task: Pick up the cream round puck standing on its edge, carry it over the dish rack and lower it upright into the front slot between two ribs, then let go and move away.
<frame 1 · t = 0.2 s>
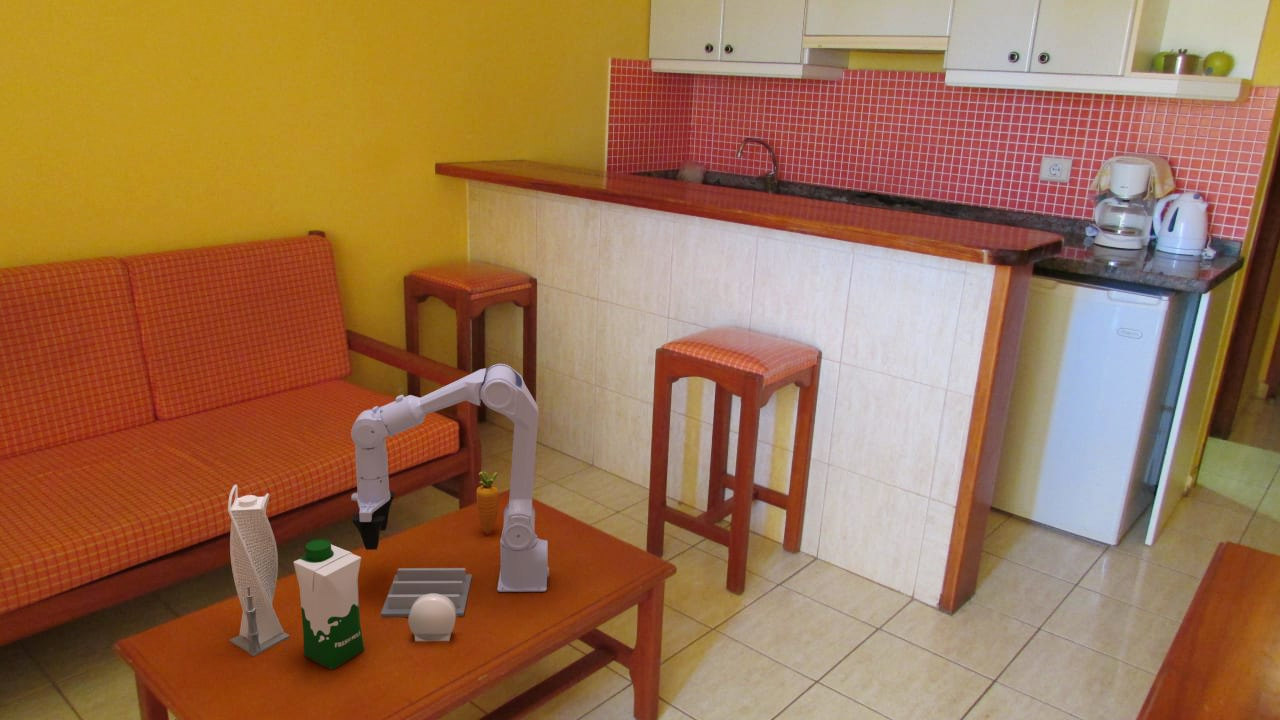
hand: (376, 539, 171), 10 cm above the table, tool pointing down, fingers open, 7 cm apart
skyscraper: (260, 637, 157), on the table
dish rack: (428, 595, 171), on the table
milk carton: (334, 654, 153), on the table
cream round puck: (433, 636, 159), on the table
carrot: (488, 535, 196), on the table
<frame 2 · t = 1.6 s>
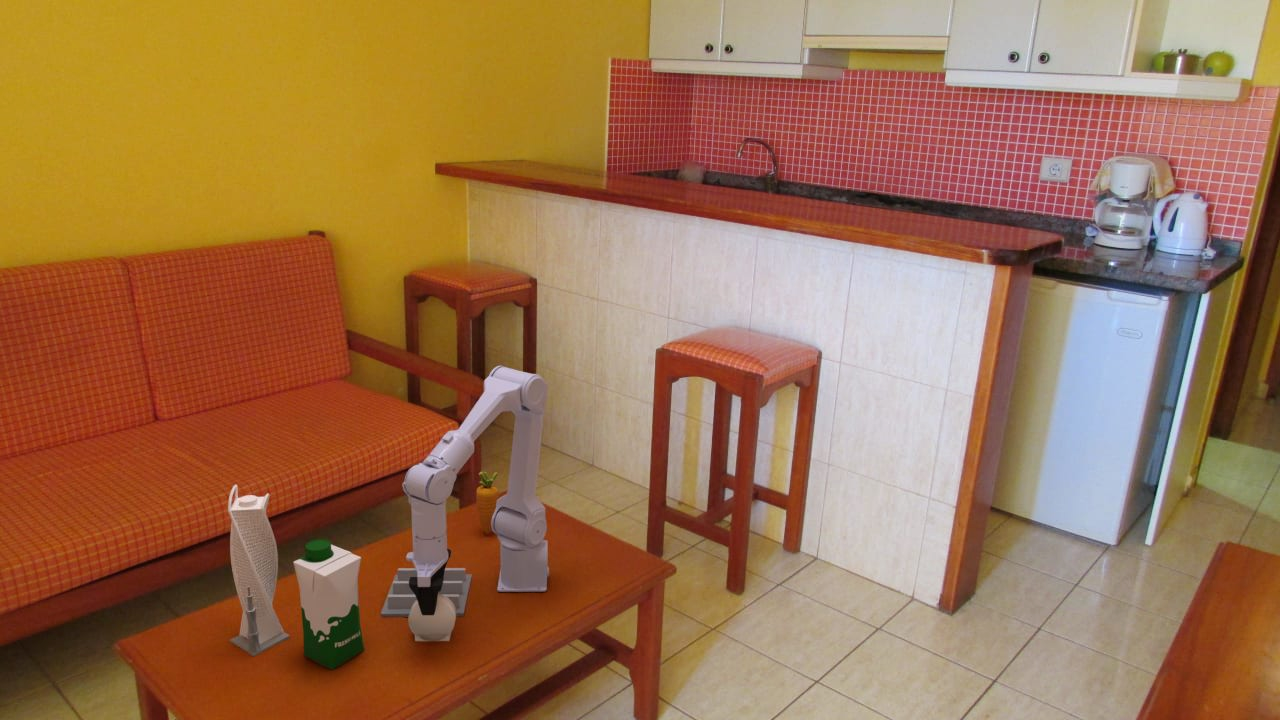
hand: (431, 602, 156), 7 cm above the table, tool pointing down, fingers open, 7 cm apart
nothing on the table moved.
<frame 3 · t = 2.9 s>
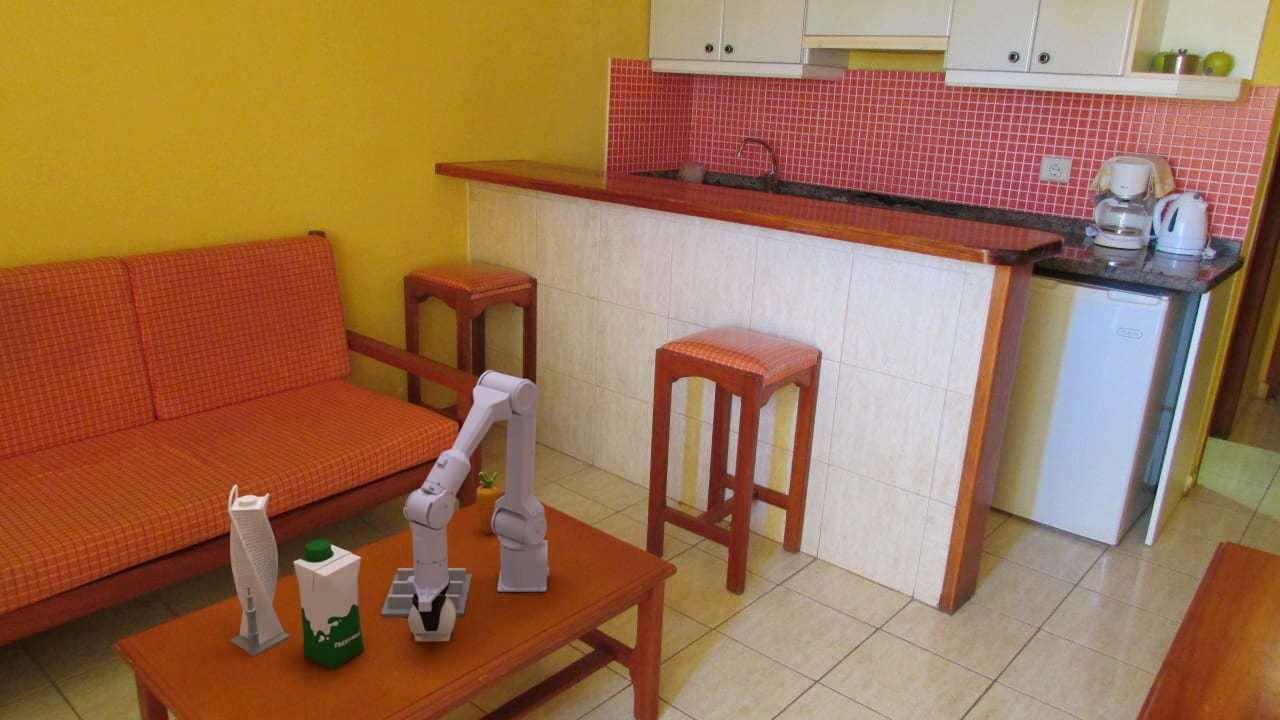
hand: (432, 625, 158), 2 cm above the table, tool pointing down, fingers closed on cream round puck, 2 cm apart
cream round puck: (433, 636, 159), on the table, touching gripper
everything else where it was.
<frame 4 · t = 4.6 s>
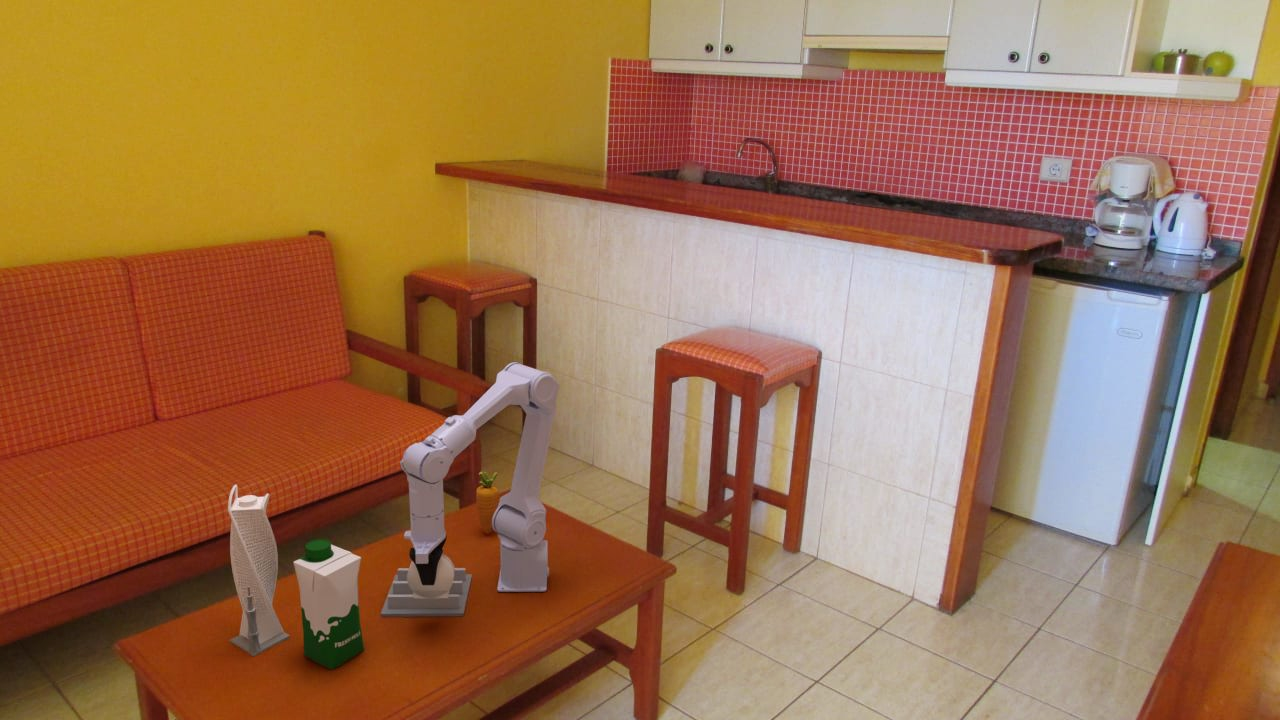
hand: (429, 579, 159), 9 cm above the table, tool pointing down, fingers closed on cream round puck, 2 cm apart
cream round puck: (431, 594, 160), point 6 cm above the table, touching gripper
everything else where it was.
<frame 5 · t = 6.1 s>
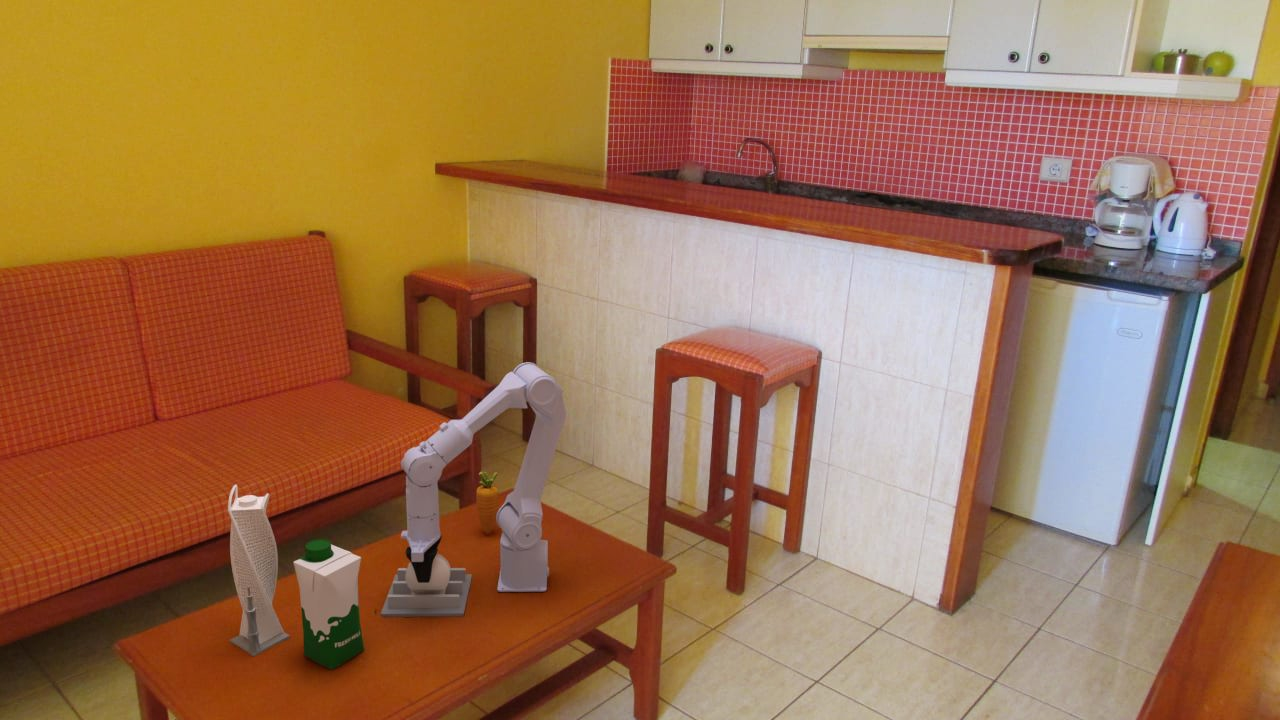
hand: (425, 577, 167), 5 cm above the table, tool pointing down, fingers closed on cream round puck, 2 cm apart
cream round puck: (428, 593, 168), point 2 cm above the table, touching gripper
everything else where it was.
when the fingers open (4 cm above the table, at t = 6.7 s): cream round puck stays where it is, resting on dish rack.
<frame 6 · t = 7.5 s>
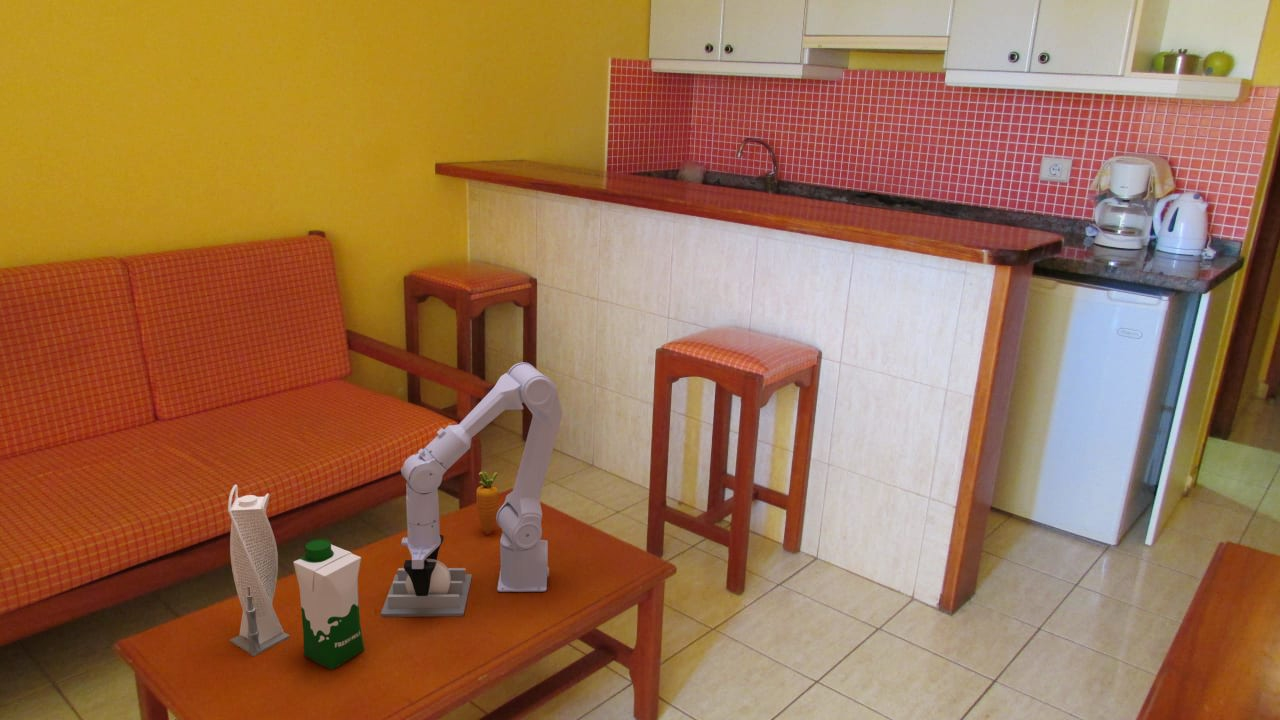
hand: (425, 584, 168), 4 cm above the table, tool pointing down, fingers open, 7 cm apart
cream round puck: (429, 600, 169), point 1 cm above the table, touching dish rack
everything else where it was.
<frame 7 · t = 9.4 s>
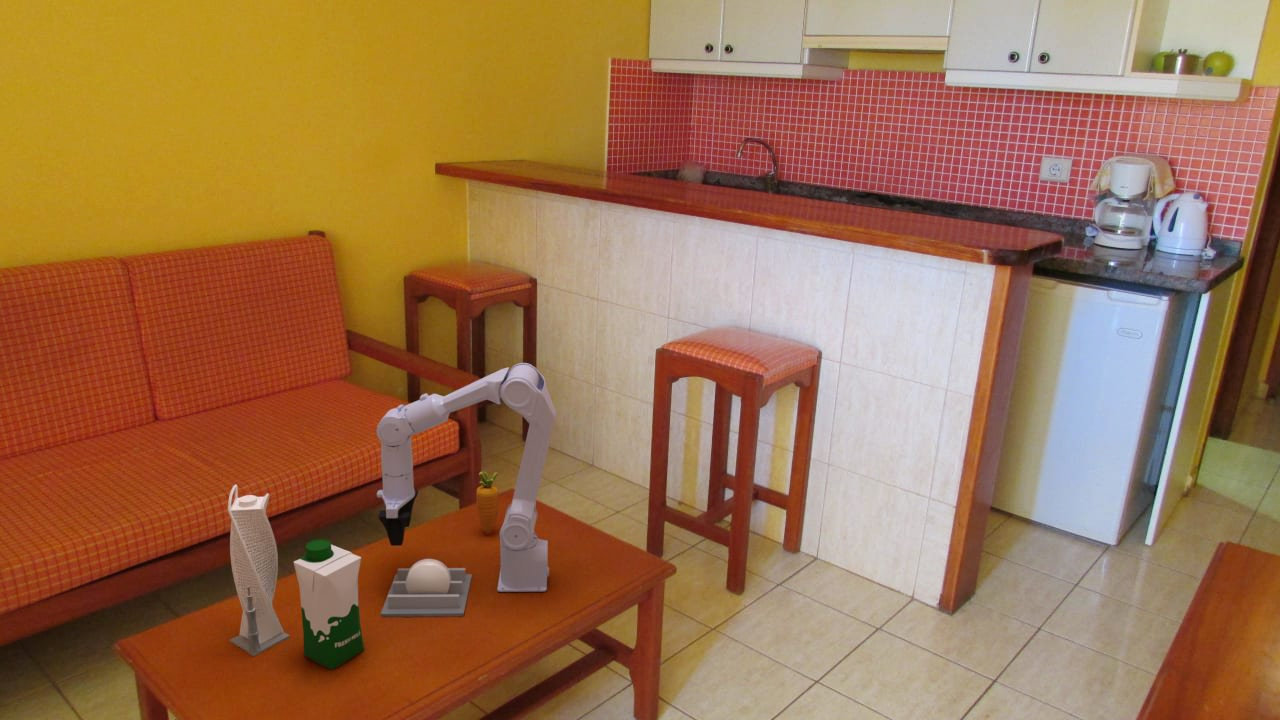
hand: (400, 535, 174), 9 cm above the table, tool pointing down, fingers open, 7 cm apart
nothing on the table moved.
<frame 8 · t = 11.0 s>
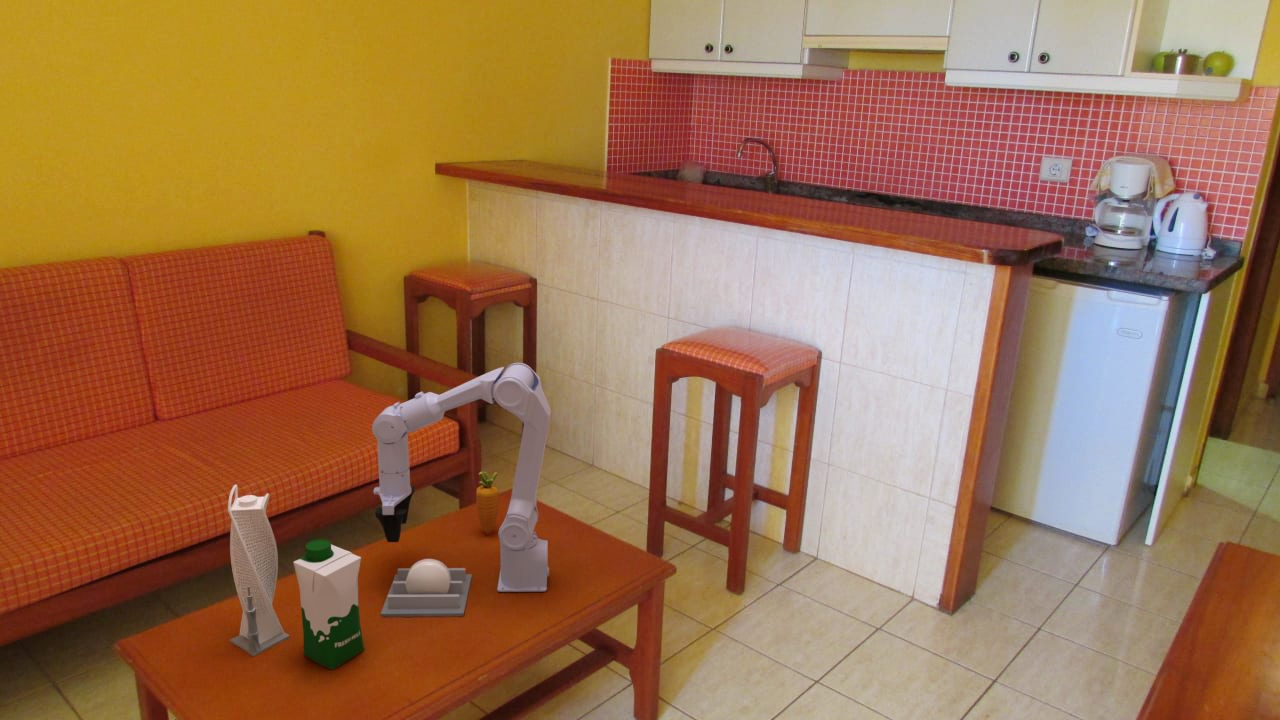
hand: (397, 532, 176), 9 cm above the table, tool pointing down, fingers open, 7 cm apart
nothing on the table moved.
at the end: cream round puck inside the target area on the dish rack (0.6 cm from its centre), point 0.6 cm above the dish rack's base; cream round puck tilted 0°; the gripper is holding nothing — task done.
